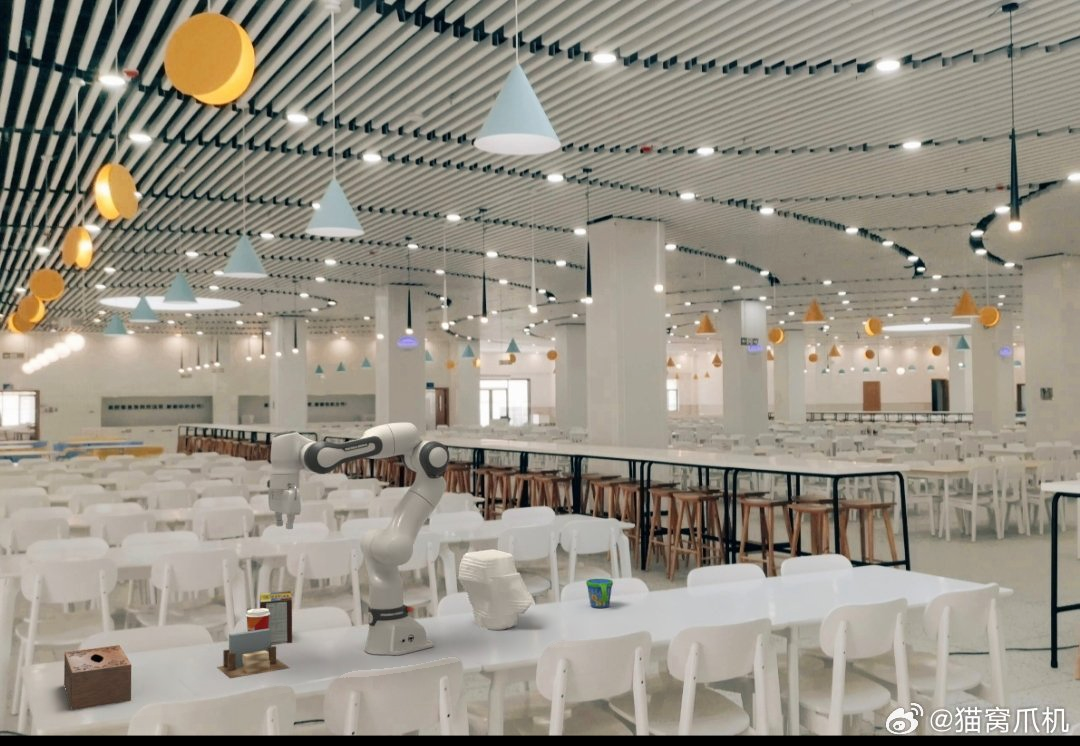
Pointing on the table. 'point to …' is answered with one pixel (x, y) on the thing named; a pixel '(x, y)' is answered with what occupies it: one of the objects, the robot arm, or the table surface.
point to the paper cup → (257, 619)
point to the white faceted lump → (494, 588)
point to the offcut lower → (257, 667)
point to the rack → (234, 672)
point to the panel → (248, 643)
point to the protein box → (278, 616)
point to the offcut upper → (255, 657)
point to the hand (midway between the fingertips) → (284, 527)
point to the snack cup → (599, 592)
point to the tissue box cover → (97, 677)
